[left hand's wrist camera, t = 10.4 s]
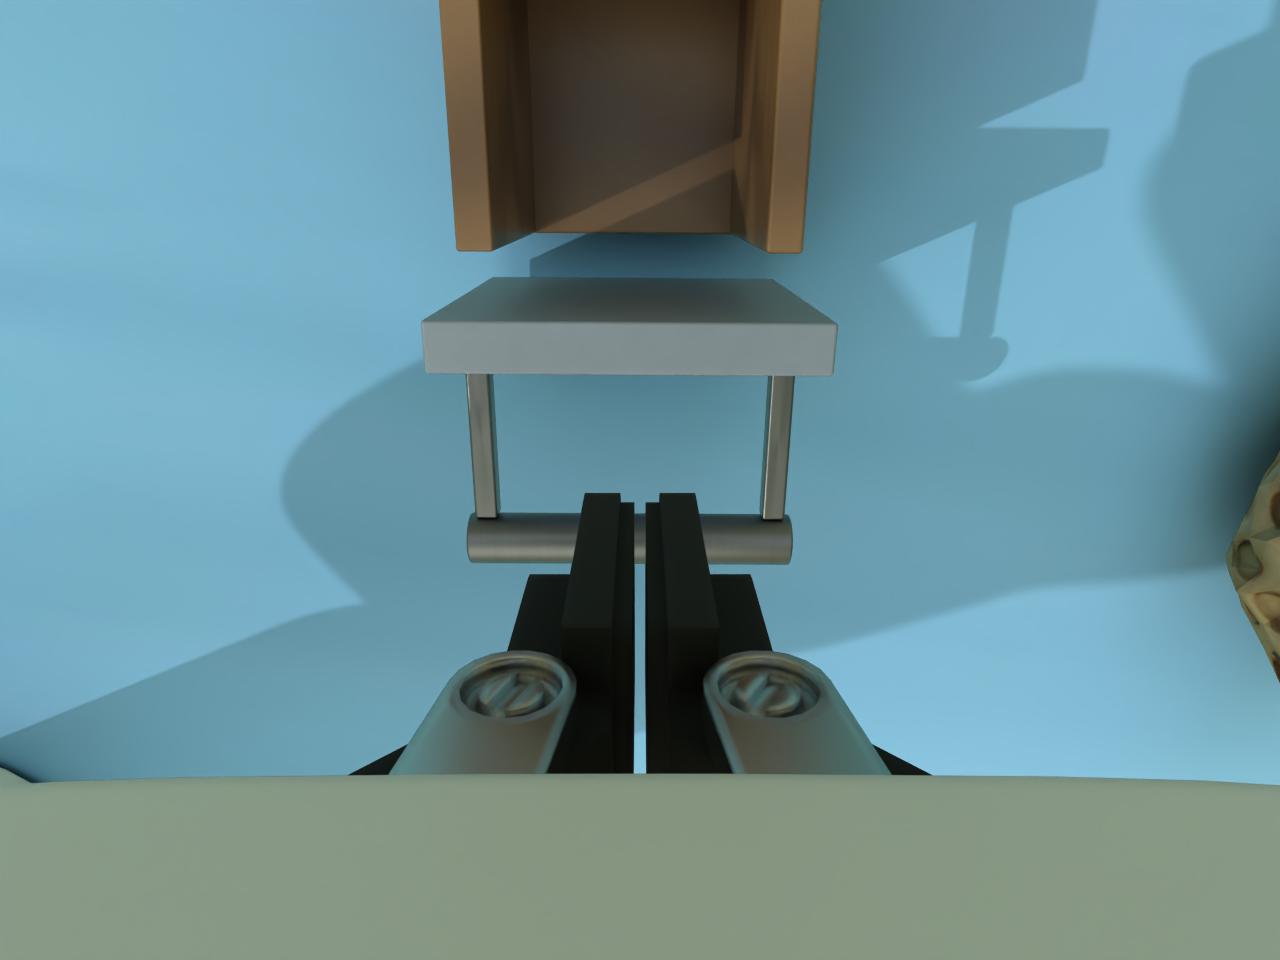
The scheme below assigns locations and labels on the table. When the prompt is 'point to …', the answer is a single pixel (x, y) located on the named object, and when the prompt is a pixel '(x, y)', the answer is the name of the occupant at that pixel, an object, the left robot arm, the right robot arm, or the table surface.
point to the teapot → (1260, 563)
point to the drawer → (629, 220)
